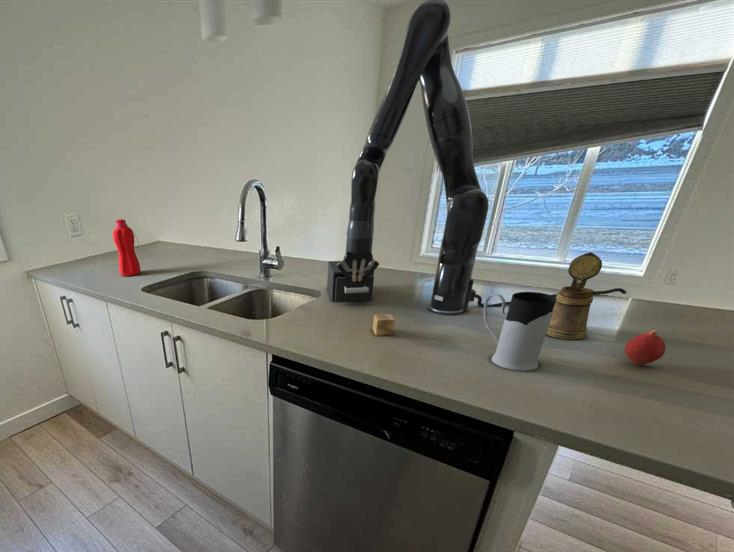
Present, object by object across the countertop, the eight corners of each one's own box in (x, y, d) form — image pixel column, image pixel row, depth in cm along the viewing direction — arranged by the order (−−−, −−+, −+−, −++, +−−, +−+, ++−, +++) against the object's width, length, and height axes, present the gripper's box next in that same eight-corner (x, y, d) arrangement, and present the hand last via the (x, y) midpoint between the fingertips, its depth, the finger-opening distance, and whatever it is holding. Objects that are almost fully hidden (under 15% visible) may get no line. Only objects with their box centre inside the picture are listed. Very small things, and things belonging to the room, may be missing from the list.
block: (388, 329, 112) (390, 314, 110) (392, 335, 108) (394, 319, 106) (372, 329, 113) (374, 314, 111) (375, 335, 109) (377, 320, 107)
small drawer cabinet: (371, 299, 134) (374, 270, 130) (332, 301, 136) (333, 272, 131) (362, 286, 148) (364, 259, 143) (327, 287, 150) (328, 261, 145)
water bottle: (142, 275, 191) (131, 219, 179) (119, 277, 191) (107, 221, 179) (145, 270, 199) (136, 216, 187) (123, 272, 200) (112, 219, 187)
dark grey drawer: (374, 305, 127) (377, 280, 123) (337, 306, 128) (338, 282, 125) (363, 287, 143) (365, 265, 140) (330, 289, 145) (331, 267, 141)
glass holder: (520, 374, 86) (542, 307, 78) (461, 351, 97) (475, 290, 90) (547, 364, 88) (570, 298, 81) (487, 342, 100) (502, 283, 92)
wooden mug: (587, 324, 104) (615, 253, 95) (584, 342, 96) (613, 266, 87) (545, 318, 110) (567, 250, 101) (538, 335, 101) (562, 262, 92)
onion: (611, 360, 87) (626, 326, 83) (636, 357, 88) (652, 323, 84) (637, 372, 82) (654, 337, 78) (664, 369, 83) (682, 333, 79)
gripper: (338, 239, 117) (335, 296, 126) (386, 236, 115) (379, 294, 124) (335, 234, 124) (332, 289, 132) (380, 231, 122) (374, 287, 130)
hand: (355, 292), depth 128 cm, fingers closed
